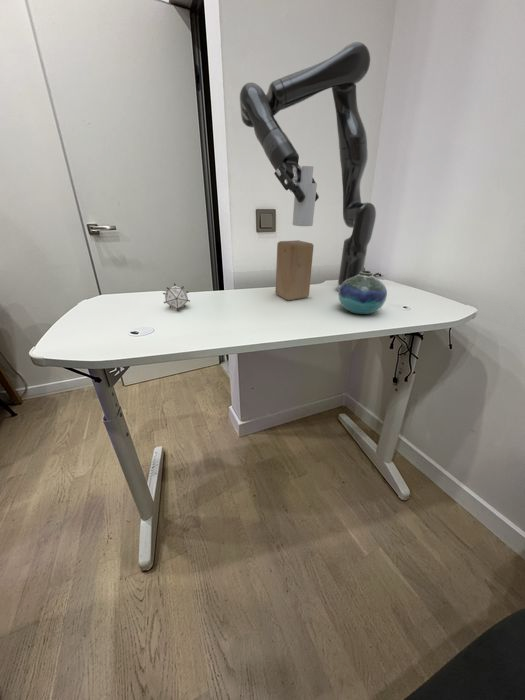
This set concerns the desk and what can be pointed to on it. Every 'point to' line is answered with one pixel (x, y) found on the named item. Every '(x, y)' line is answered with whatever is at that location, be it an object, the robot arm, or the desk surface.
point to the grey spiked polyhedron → (176, 297)
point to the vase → (362, 293)
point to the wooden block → (293, 269)
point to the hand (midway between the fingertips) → (309, 200)
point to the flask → (305, 208)
